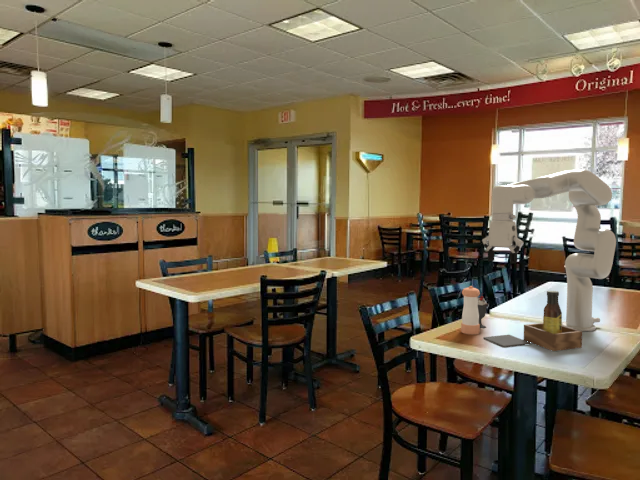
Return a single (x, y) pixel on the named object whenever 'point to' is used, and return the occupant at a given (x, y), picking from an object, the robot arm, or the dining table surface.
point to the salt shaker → (470, 311)
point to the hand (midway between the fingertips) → (501, 262)
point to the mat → (506, 340)
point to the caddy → (553, 337)
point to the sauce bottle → (552, 314)
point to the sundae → (481, 309)
